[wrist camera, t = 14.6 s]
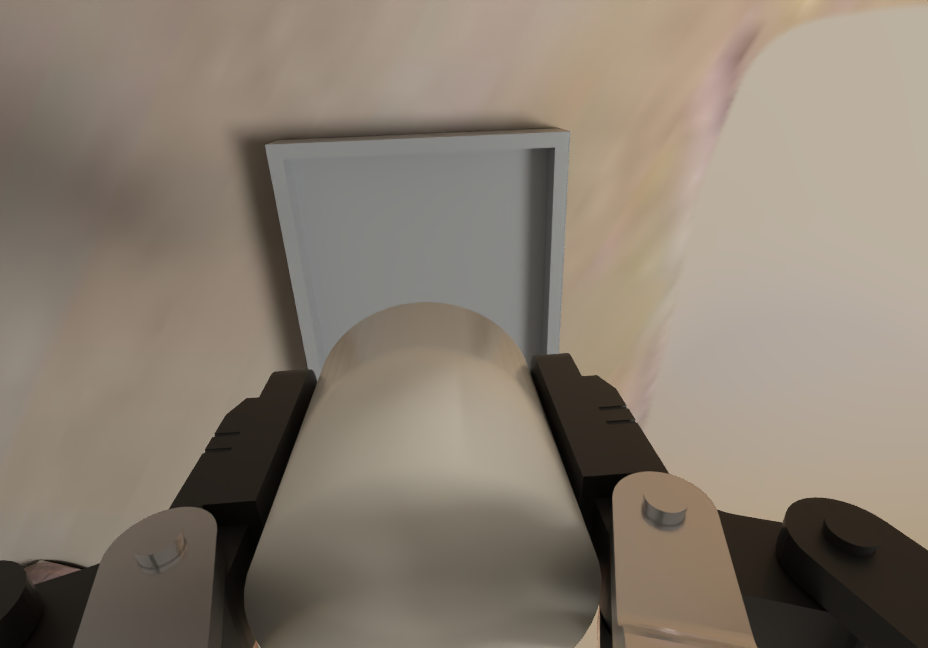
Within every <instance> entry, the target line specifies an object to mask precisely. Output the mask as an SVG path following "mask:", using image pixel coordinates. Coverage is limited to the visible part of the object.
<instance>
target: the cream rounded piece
mask: <svg viewBox="0 0 928 648" xmlns="http://www.w3.org/2000/svg"><path fill="white" fill-rule="evenodd" d="M600 596H601V572H600V566H599V561H598V558H597V556H596V553H595V550H594V547H593V544H592V542H591V539H590V536H589V533H588V531H587V528H586V525H585V522H584V520H583V517H582V514H581V511H580V509H579V506H578V503H577V500H576V498H575V495H574V492H573V489H572V487H571V484H570V481H569V478H568V475H567V473H566V470H565V467H564V464H563V462H562V459H561V456H560V453H559V451H558V448H557V445H556V442H555V440H554V437H553V434H552V431H551V429H550V426H549V423H548V420H547V418H546V415H545V412H544V409H543V406H542V404H541V401H540V398H539V395H538V393H537V390H536V387H535V384H534V382H533V379H532V376H531V373H530V371H529V368H528V365H527V363H526V360H525V358H524V356H523V354H522V352H521V350H520V349H519V347H518V346H517V344H516V343H515V342H514V341H513V339H512V338H511V337H510V336H509V335H508V334H507V333H506V332H505V331H504V330H503V329H502V328H501V327H499V326H498V325H497V324H495V323H494V322H493V321H491V320H490V319H488V318H486V317H484V316H482V315H481V314H479V313H476V312H474V311H471V310H469V309H466V308H463V307H459V306H455V305H451V304H445V303H437V302H416V303H408V304H402V305H398V306H394V307H389V308H387V309H384V310H382V311H379V312H376V313H374V314H372V315H370V316H368V317H367V318H365V319H363V320H361V321H360V322H359V323H357V324H356V325H354V326H353V327H352V328H350V329H349V330H348V331H347V332H346V333H345V334H344V335H343V336H342V337H341V338H340V339H339V340H338V342H337V343H336V344H335V345H334V347H333V348H332V350H331V351H330V353H329V355H328V357H327V358H326V360H325V363H324V366H323V368H322V371H321V374H320V376H319V379H318V382H317V385H316V387H315V390H314V393H313V395H312V398H311V401H310V404H309V406H308V409H307V412H306V415H305V417H304V420H303V423H302V426H301V428H300V431H299V434H298V436H297V439H296V442H295V445H294V447H293V450H292V453H291V456H290V458H289V461H288V464H287V467H286V469H285V472H284V475H283V477H282V480H281V483H280V486H279V488H278V491H277V494H276V497H275V499H274V502H273V505H272V508H271V510H270V513H269V516H268V518H267V521H266V524H265V527H264V529H263V532H262V535H261V538H260V540H259V543H258V546H257V549H256V551H255V554H254V557H253V560H252V562H251V565H250V568H249V570H248V573H247V577H246V583H245V588H244V608H245V613H246V617H247V621H248V624H249V627H250V629H251V631H252V633H253V636H254V638H255V639H256V641H257V642H258V644H259V645H260V647H261V648H574V647H575V646H576V645H577V644H578V642H579V641H580V640H581V639H582V637H583V636H584V634H585V633H586V631H587V629H588V628H589V626H590V625H591V623H592V621H593V618H594V616H595V613H596V611H597V609H598V605H599V600H600Z"/></svg>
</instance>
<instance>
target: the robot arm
mask: <svg viewBox="0 0 928 648" xmlns="http://www.w3.org/2000/svg"><path fill="white" fill-rule="evenodd" d="M530 373H531V376H532V379H533V382H534V384H535V387H536V390H537V393H538V395H539V398H540V401H541V404H542V406H543V409H544V412H545V415H546V418H547V420H548V423H549V426H550V429H551V431H552V434H553V437H554V440H555V442H556V445H557V448H558V451H559V453H560V456H561V459H562V462H563V464H564V467H565V470H566V473H567V475H568V478H569V481H570V484H571V487H572V489H573V492H574V495H575V498H576V500H577V503H578V506H579V509H580V511H581V514H582V517H583V520H584V522H585V525H586V528H587V531H588V533H589V536H590V539H591V542H592V544H593V547H594V550H595V553H596V556H597V558H598V561H599V566H600V572H601V596H600V600H599V612H598V621H597V648H928V550H926V549H925V548H923V547H922V546H921V545H919V544H918V543H916V542H915V541H913V540H912V539H910V538H909V537H907V536H906V535H904V534H903V533H902V532H900V531H898V530H897V529H896V528H894V527H893V526H891V525H890V524H888V523H887V522H885V521H884V520H882V519H880V518H879V517H877V516H876V515H874V514H872V513H870V512H868V511H866V510H864V509H861V508H859V507H857V506H855V505H851V504H848V503H845V502H842V501H838V500H834V499H827V498H805V499H802V500H798V501H796V502H795V503H793V504H792V505H791V506H790V507H789V508H788V509H787V512H786V514H785V517H784V520H783V523H781V522H775V521H769V520H763V519H757V518H752V517H746V516H740V515H735V514H730V513H726V512H723V511H720V510H717V509H716V507H715V505H714V504H713V502H712V501H711V499H710V498H709V497H708V496H707V495H706V494H705V493H704V492H703V491H702V490H701V489H699V488H698V487H696V486H695V485H694V484H692V483H690V482H688V481H686V480H684V479H682V478H680V477H677V476H674V475H671V474H669V473H668V471H667V470H666V468H665V466H664V465H663V463H662V462H661V460H660V458H659V457H658V455H657V454H656V452H655V450H654V449H653V447H652V446H651V444H650V442H649V441H648V439H647V438H646V436H645V434H644V433H643V431H642V430H641V428H640V426H639V425H638V423H635V418H634V417H633V415H632V414H631V412H630V410H629V409H627V408H626V404H625V402H624V401H623V399H622V398H621V396H620V394H619V393H618V391H617V390H616V388H614V387H613V386H611V385H610V384H609V383H607V382H606V381H604V380H603V379H601V378H600V377H599V376H597V375H595V376H581V374H580V372H579V370H578V368H577V366H576V364H575V363H574V361H573V359H572V357H571V355H570V354H569V353H562V354H547V355H533V356H532V358H531V365H530ZM316 385H317V378H316V375H315V372H314V371H313V370H312V369H309V370H294V371H278V372H273V373H272V374H271V376H270V378H269V380H268V382H267V384H266V385H265V387H264V389H263V391H262V393H261V395H260V397H259V398H246V399H245V400H244V401H243V402H241V403H240V404H239V405H238V406H236V407H235V408H234V409H233V410H231V411H230V412H229V413H228V414H227V415H226V416H225V417H224V419H223V421H222V422H221V424H220V426H219V427H218V429H217V431H216V432H215V437H212V439H211V440H210V442H209V444H208V445H207V447H206V449H205V453H203V454H202V455H201V457H200V459H199V460H198V462H197V464H196V465H195V467H194V469H193V470H192V472H191V473H190V475H189V477H188V478H187V480H186V482H185V483H184V485H183V487H182V488H181V490H180V492H179V493H178V495H177V497H176V498H175V500H174V501H173V503H172V505H171V506H170V508H169V509H168V510H165V511H162V512H158V513H156V514H154V515H151V516H149V517H147V518H145V519H143V520H141V521H139V522H138V523H136V524H135V525H133V526H132V527H130V528H129V529H127V530H126V531H125V532H124V533H122V534H121V535H120V536H119V537H118V538H117V539H116V540H115V541H114V542H113V543H112V544H111V545H110V547H109V548H108V549H107V551H106V552H105V554H104V555H103V557H102V560H101V562H100V563H99V564H97V565H94V566H91V567H88V568H85V569H81V570H78V571H75V572H72V573H69V574H66V575H63V576H59V577H56V578H53V579H50V580H47V581H44V582H41V583H37V584H34V585H33V583H32V581H31V580H30V578H29V576H28V575H27V573H26V571H25V569H24V568H23V567H22V566H21V565H20V564H18V563H15V562H12V561H4V560H3V561H0V648H258V645H257V642H256V639H255V638H254V636H253V633H252V631H251V629H250V627H249V624H248V621H247V617H246V613H245V608H244V588H245V583H246V577H247V573H248V570H249V568H250V565H251V562H252V560H253V557H254V554H255V551H256V549H257V546H258V543H259V540H260V538H261V535H262V532H263V529H264V527H265V524H266V521H267V518H268V516H269V513H270V510H271V508H272V505H273V502H274V499H275V497H276V494H277V491H278V488H279V486H280V483H281V480H282V477H283V475H284V472H285V469H286V467H287V464H288V461H289V458H290V456H291V453H292V450H293V447H294V445H295V442H296V439H297V436H298V434H299V431H300V428H301V426H302V423H303V420H304V417H305V415H306V412H307V409H308V406H309V404H310V401H311V398H312V395H313V393H314V390H315V387H316Z"/></svg>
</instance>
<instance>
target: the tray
mask: <svg viewBox="0 0 928 648" xmlns="http://www.w3.org/2000/svg"><path fill="white" fill-rule="evenodd" d="M569 145H570V131H567V130H564V129H560V128H548V129H524V130H501V131H478V132H454V133H431V134H408V135H385V136H361V137H338V138H315V139H292V140H277V141H274V142H271V143H268V144H265V148H266V154H267V159H268V164H269V169H270V174H271V180H272V185H273V190H274V195H275V200H276V205H277V211H278V216H279V221H280V226H281V231H282V237H283V242H284V247H285V252H286V257H287V263H288V268H289V273H290V278H291V283H292V288H293V294H294V299H295V304H296V309H297V314H298V320H299V325H300V330H301V335H302V340H303V346H304V351H305V356H306V361H307V366H308V370H309V369H312V370H313V371H314V372H315V375H316V378H317V382H318V379H319V376H320V374H321V371H322V368H323V366H324V363H325V360H326V358H327V357H328V355H329V353H330V351H331V350H332V348H333V347H334V345H335V344H336V343H337V342H338V340H339V339H340V338H341V337H342V336H343V335H344V334H345V333H346V332H347V331H348V330H349V329H350V328H352V327H353V326H354V325H356V324H357V323H359V322H360V321H361V320H363V319H365V318H367V317H368V316H370V315H372V314H374V313H376V312H379V311H382V310H384V309H387V308H389V307H394V306H398V305H402V304H408V303H416V302H437V303H445V304H451V305H455V306H459V307H463V308H466V309H469V310H471V311H474V312H476V313H479V314H481V315H482V316H484V317H486V318H488V319H490V320H491V321H493V322H494V323H495V324H497V325H498V326H499V327H501V328H502V329H503V330H504V331H505V332H506V333H507V334H508V335H509V336H510V337H511V338H512V339H513V341H514V342H515V343H516V344H517V346H518V347H519V349H520V350H521V352H522V354H523V356H524V358H525V360H526V363H527V365H528V368H529V371H530V365H531V358H532V356H533V355H547V354H559V341H560V321H561V302H562V282H563V263H564V243H565V224H566V204H567V185H568V165H569Z"/></svg>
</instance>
